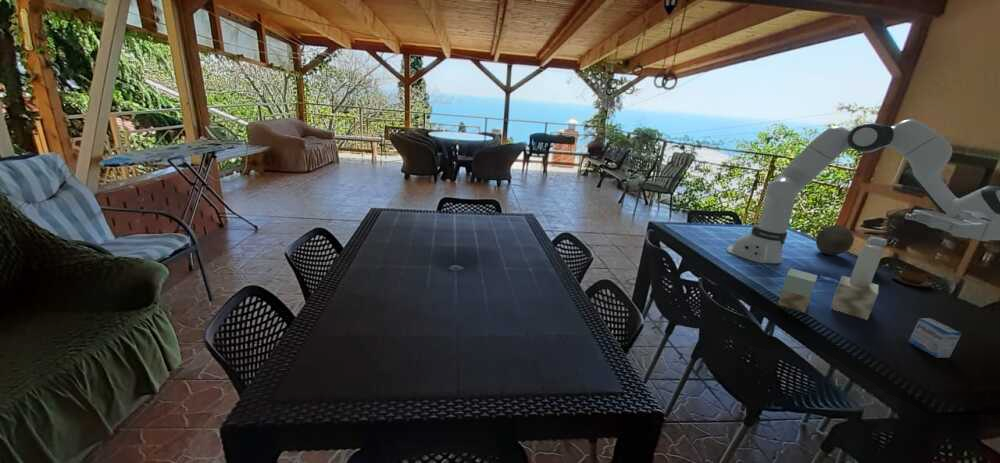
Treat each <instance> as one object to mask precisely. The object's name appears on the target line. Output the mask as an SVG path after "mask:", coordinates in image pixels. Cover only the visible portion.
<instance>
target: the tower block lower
mask: <svg viewBox="0 0 1000 463" xmlns="http://www.w3.org/2000/svg"><path fill="white" fill-rule="evenodd" d="M813 292H814V290H813V291H812V293H811V296H810V298H808V297H805V296H801V295H798V294H795V293H791V292H788V291H785V290H782V289H781V294H780V296H779V300H778V303H777V305H778V306H781V307H784V308H788V309H791V310H794V311H797V312H800V311H801V313H803V312H804V313H803V314H805V313H806V311H807V308H808V306H809V303H810V301H811V298H812V295H813Z"/></svg>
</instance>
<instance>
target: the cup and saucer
mask: <svg viewBox="0 0 1000 463" xmlns="http://www.w3.org/2000/svg"><path fill="white" fill-rule="evenodd" d="M891 277H892V278H893V279H894V280H896V281H898V282H900V283H901V284H905V285H909V286H913V287H918V288H928V287H931V286H932V285H933V282H934V281H935V279H936V278H935V276H934V275H933V274H929V272H928V271H927V270H925V269H923V268H918V267H915V266H909V265H907V266H906V265H905V266H902V270H901V272H894V273H892V274H891ZM927 277H931V278H932V279H930V280H929V279H927ZM898 278H901V279H902V280H900V279H898ZM918 284H920V285H918Z"/></svg>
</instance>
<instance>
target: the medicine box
mask: <svg viewBox="0 0 1000 463" xmlns="http://www.w3.org/2000/svg"><path fill="white" fill-rule="evenodd" d="M962 335H963V333H962V332H960V331H958V330H956V329H954V328H952V327H950V326H948V325H947V324H943V323H941V322H939V321H937V320H935V319H933V318H929V317H927V318H925V317H924V318H923V317H922V318H919V319H918V320H917V323H916V325H915V327H914V329H913V331H912V333H911V335H910V337H909V338H908V343H909V344H911V345H912V344H913V346H915V347H916V348H917V349H919V350H922V351H924V352H926V353H927V354H929V355H931V356H933V357H935V358H936V359H938V358H941V359H942V358H948V359H949V358H950V357H951V355H952V353H953V351H954V349H955V348H956V346H957V343H958V341H959V340H960V337H961V336H962Z"/></svg>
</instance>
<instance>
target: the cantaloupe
mask: <svg viewBox="0 0 1000 463" xmlns="http://www.w3.org/2000/svg"><path fill="white" fill-rule="evenodd" d="M815 240H816V241H815V244H816V246H817V249H818V250H819V252H821V253H823V254H824V255H829V256H838V255H841V254H843V253H846V252H847V251H849V250H850V249H851V248H852V246H853V245H854V242H855V238H854V234H853V231H852V230H851V229H849V228H848V227H846V226H843V225H839V224H837V225H835V224H831V225H828V226H825V227H824V228H823V229H821V230H820V231H819V232H818V233H817V236H816V239H815Z"/></svg>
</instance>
